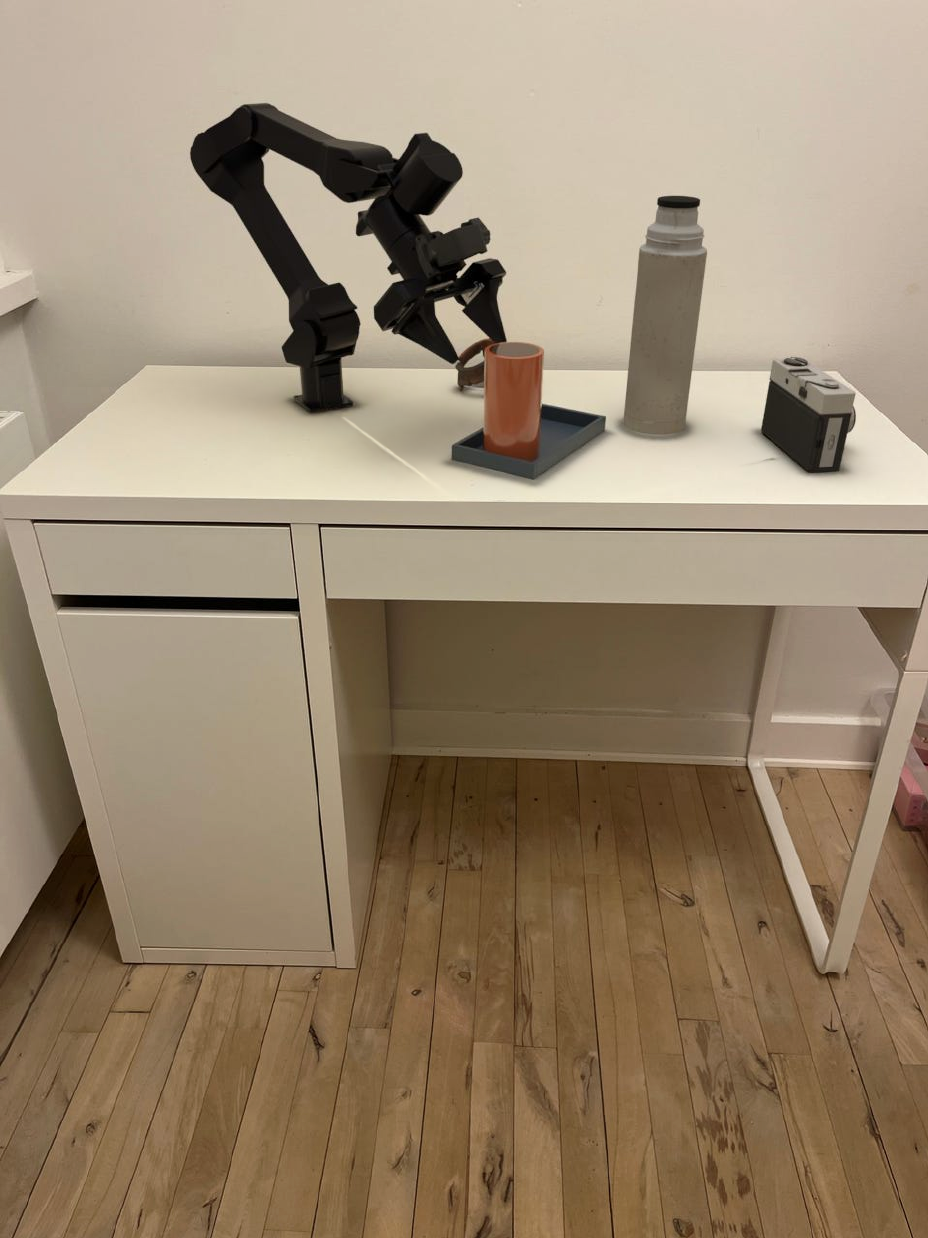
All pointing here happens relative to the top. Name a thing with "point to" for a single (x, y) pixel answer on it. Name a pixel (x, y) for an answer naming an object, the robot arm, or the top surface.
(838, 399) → the camera
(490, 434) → the tumbler
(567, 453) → the tray
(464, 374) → the brown curved loop
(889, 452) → the top surface
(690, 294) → the thermos bottle
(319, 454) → the top surface
